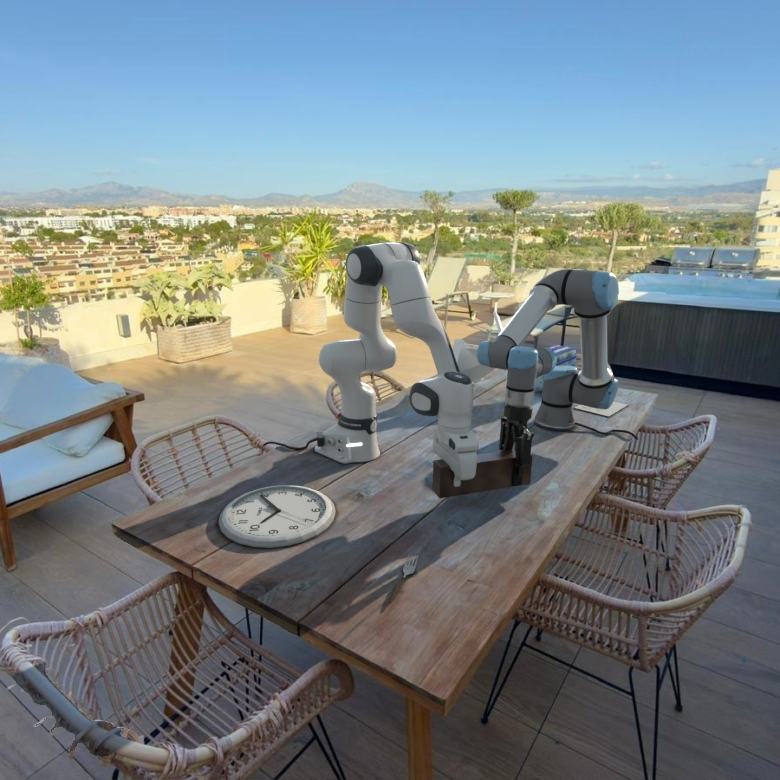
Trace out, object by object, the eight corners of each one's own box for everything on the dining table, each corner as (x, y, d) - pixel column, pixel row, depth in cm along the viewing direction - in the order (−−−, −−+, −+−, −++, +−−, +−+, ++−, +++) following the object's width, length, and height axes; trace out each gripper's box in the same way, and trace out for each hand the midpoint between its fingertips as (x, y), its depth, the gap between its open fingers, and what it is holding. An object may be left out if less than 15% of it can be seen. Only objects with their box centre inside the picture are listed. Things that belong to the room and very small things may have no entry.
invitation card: (608, 416, 214) (573, 407, 224) (608, 416, 214) (573, 408, 224) (628, 404, 229) (594, 396, 238) (628, 405, 229) (594, 397, 238)
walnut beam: (520, 476, 153) (523, 448, 151) (530, 484, 149) (532, 455, 146) (432, 490, 145) (433, 460, 142) (439, 498, 140) (440, 467, 138)
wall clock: (334, 539, 124) (204, 543, 122) (334, 545, 125) (205, 549, 122) (336, 480, 153) (231, 483, 150) (336, 485, 153) (231, 488, 151)
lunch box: (548, 398, 236) (553, 353, 229) (527, 393, 243) (531, 349, 237) (575, 387, 253) (581, 344, 247) (555, 382, 260) (560, 341, 254)
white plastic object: (461, 429, 252) (437, 405, 227) (444, 352, 274) (420, 323, 250) (535, 404, 240) (518, 377, 215) (510, 326, 262) (492, 293, 237)
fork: (383, 605, 105) (383, 597, 105) (407, 560, 120) (408, 552, 119) (395, 608, 104) (395, 600, 104) (418, 562, 119) (419, 555, 118)
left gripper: (428, 420, 147) (426, 465, 151) (459, 449, 129) (456, 499, 133) (448, 418, 149) (446, 463, 153) (482, 446, 131) (478, 495, 135)
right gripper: (490, 395, 150) (484, 468, 156) (524, 415, 133) (516, 497, 140) (513, 393, 152) (506, 465, 159) (550, 413, 135) (540, 493, 142)
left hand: (451, 480), depth 143 cm, fingers closed on walnut beam, 5 cm apart
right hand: (511, 480), depth 149 cm, fingers closed on walnut beam, 5 cm apart
